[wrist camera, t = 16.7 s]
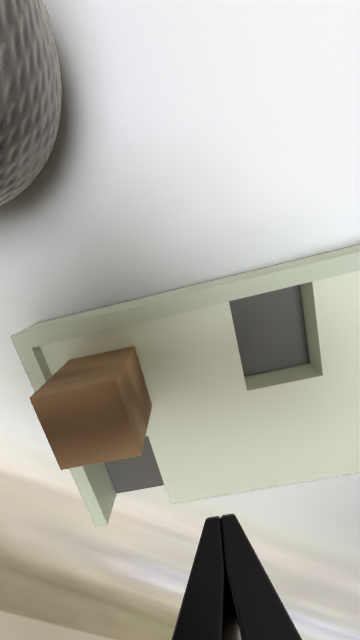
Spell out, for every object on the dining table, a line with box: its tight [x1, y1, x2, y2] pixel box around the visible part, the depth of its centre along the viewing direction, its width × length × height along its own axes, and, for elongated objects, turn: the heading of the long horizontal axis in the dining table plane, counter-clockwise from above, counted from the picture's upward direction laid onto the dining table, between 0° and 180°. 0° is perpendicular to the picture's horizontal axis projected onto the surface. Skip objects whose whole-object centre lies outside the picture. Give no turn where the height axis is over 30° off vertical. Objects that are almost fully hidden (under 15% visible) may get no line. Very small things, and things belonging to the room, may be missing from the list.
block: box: [30, 346, 152, 470], centre depth 15 cm, size 4×4×4 cm
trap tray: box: [10, 244, 360, 527], centre depth 18 cm, size 16×25×3 cm, turn 104°
